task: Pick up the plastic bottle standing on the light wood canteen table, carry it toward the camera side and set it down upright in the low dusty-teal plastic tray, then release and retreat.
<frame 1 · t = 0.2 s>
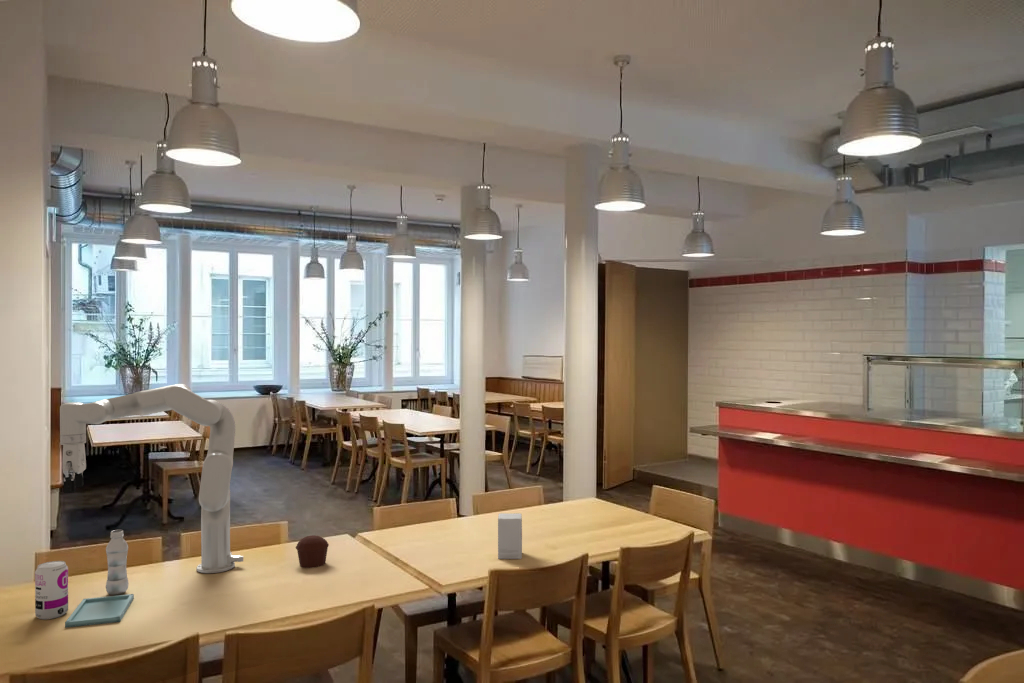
hand: (73, 489, 246), 31 cm above the table, fingers open, 9 cm apart
plastic bottle: (117, 594, 235), on the table
muffin: (312, 564, 264), on the table
supplement can: (51, 615, 216), on the table
supplement box: (510, 556, 273), on the table
tray: (101, 612, 218), on the table
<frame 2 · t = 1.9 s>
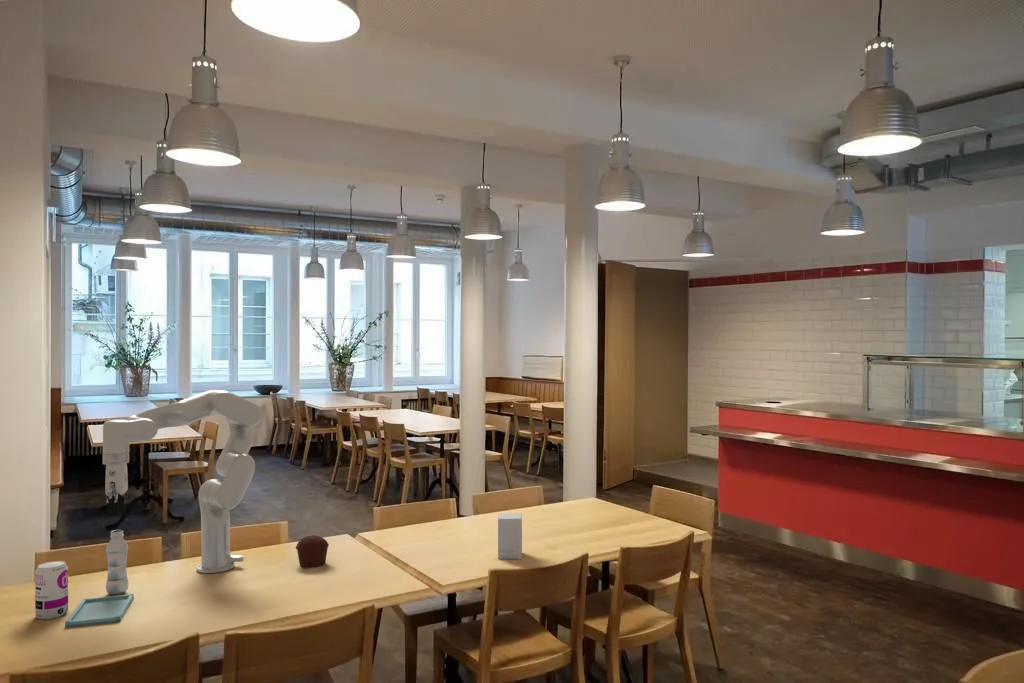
hand: (115, 511, 234), 26 cm above the table, fingers open, 9 cm apart
nothing on the table moved.
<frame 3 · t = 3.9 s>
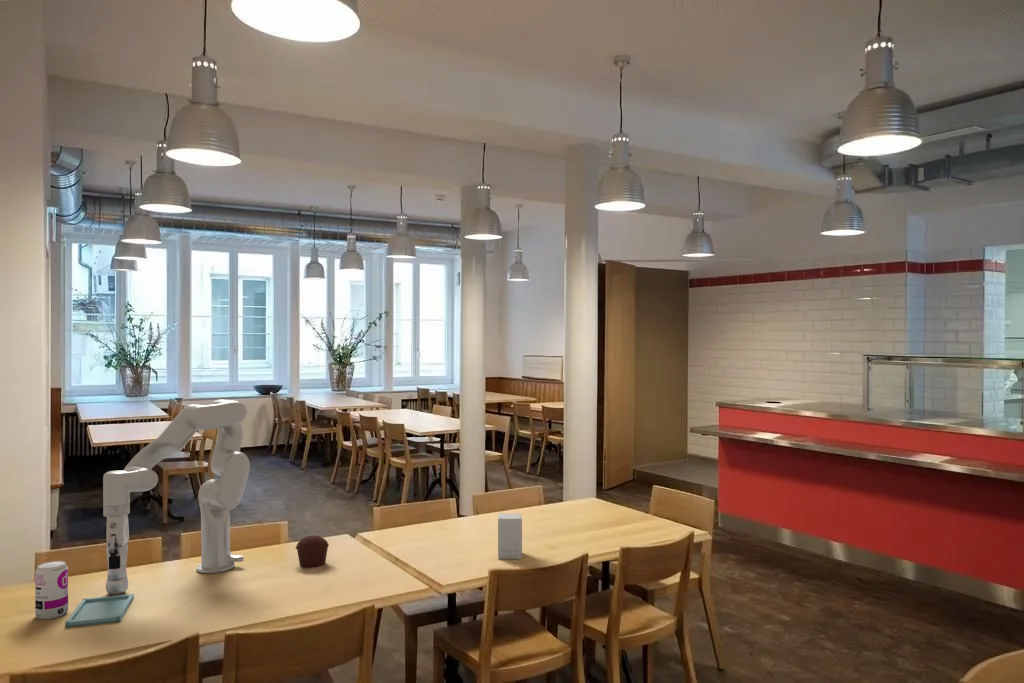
hand: (117, 564, 235), 9 cm above the table, fingers closed on plastic bottle, 6 cm apart
plastic bottle: (117, 594, 235), on the table, touching gripper
everything else where it was.
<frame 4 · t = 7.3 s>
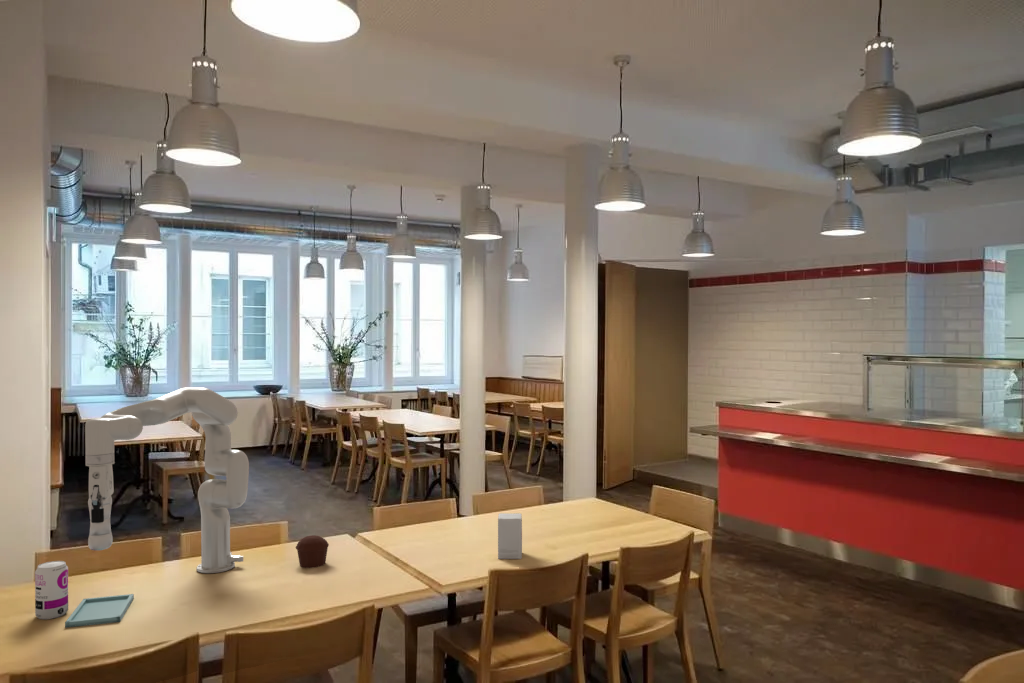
hand: (100, 519, 218), 28 cm above the table, fingers closed on plastic bottle, 6 cm apart
plastic bottle: (100, 550, 218), point 19 cm above the table, touching gripper
everything else where it was.
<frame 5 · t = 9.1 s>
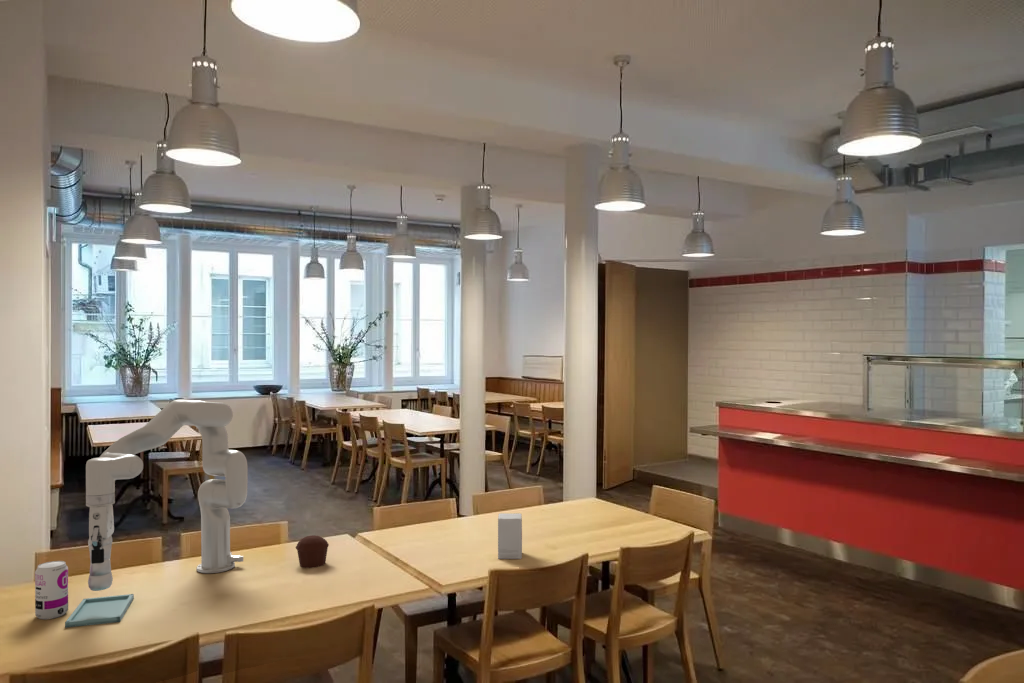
hand: (100, 558, 218), 16 cm above the table, fingers closed on plastic bottle, 6 cm apart
plastic bottle: (100, 590, 218), point 7 cm above the table, touching gripper
everything else where it was.
when the fingers open (11 cm above the table, at t = 10.7 s): plastic bottle drops 1 cm, resting on tray.
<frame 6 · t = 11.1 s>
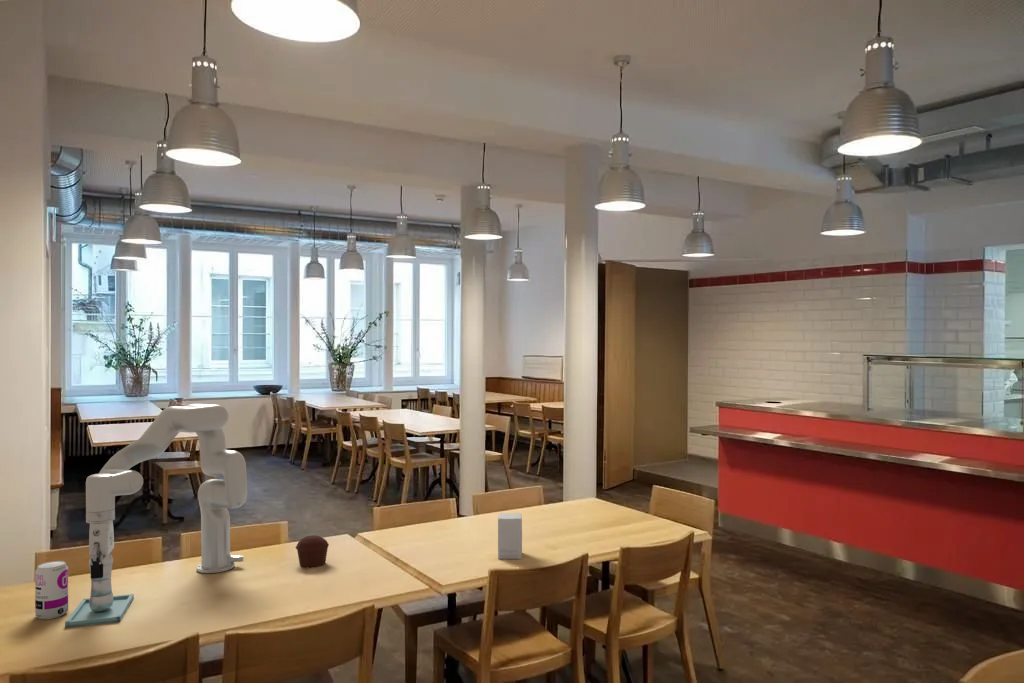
hand: (100, 572, 218), 12 cm above the table, fingers open, 9 cm apart
plastic bottle: (101, 610, 218), resting on tray
everything else where it was.
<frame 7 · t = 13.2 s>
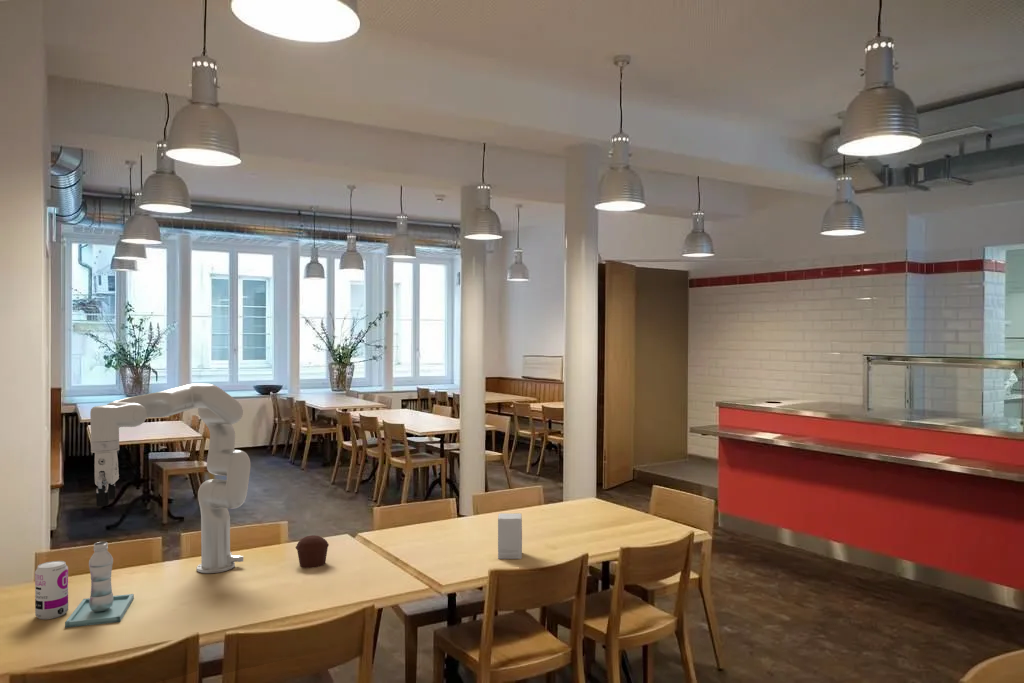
hand: (106, 502, 222), 32 cm above the table, fingers open, 9 cm apart
nothing on the table moved.
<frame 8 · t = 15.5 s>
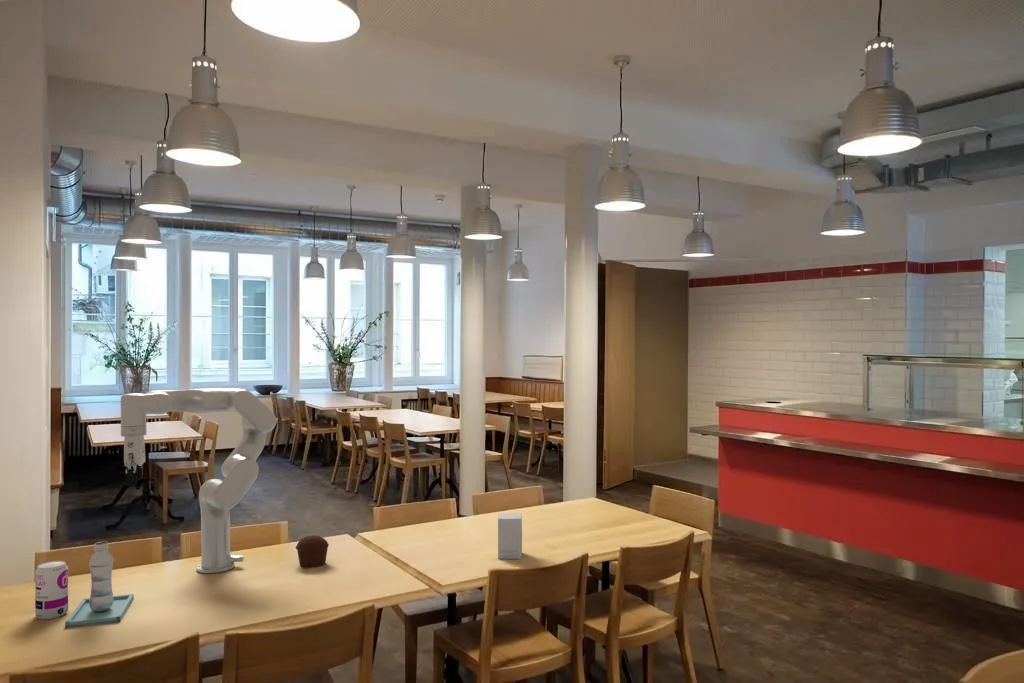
hand: (134, 482, 242), 34 cm above the table, fingers open, 9 cm apart
nothing on the table moved.
at the end: plastic bottle inside the target area on the tray (0.1 cm from its centre), point 0.4 cm above the tray's base; plastic bottle tilted 0°; the gripper is holding nothing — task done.
